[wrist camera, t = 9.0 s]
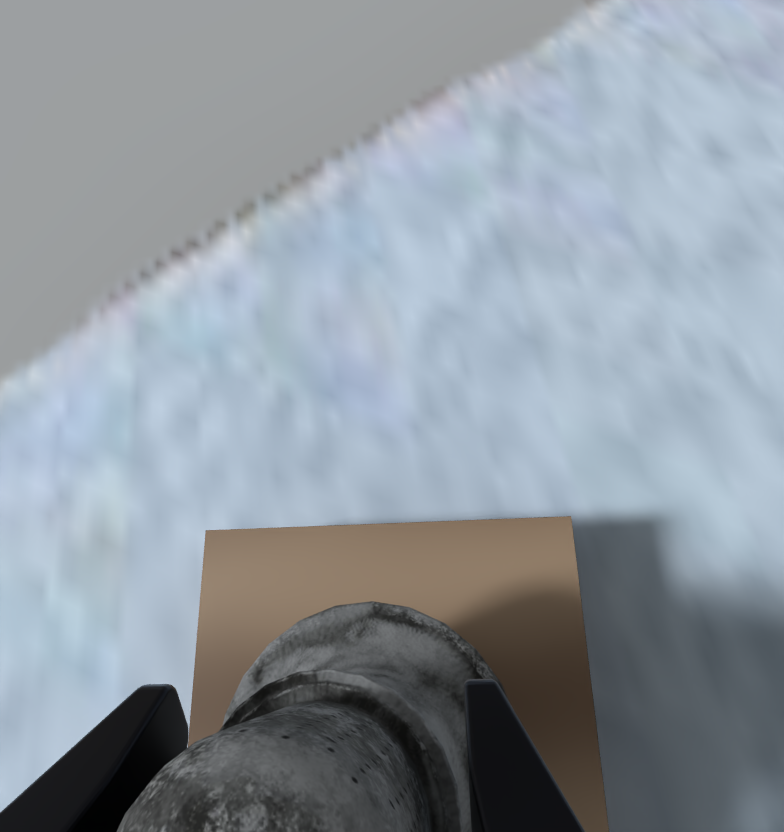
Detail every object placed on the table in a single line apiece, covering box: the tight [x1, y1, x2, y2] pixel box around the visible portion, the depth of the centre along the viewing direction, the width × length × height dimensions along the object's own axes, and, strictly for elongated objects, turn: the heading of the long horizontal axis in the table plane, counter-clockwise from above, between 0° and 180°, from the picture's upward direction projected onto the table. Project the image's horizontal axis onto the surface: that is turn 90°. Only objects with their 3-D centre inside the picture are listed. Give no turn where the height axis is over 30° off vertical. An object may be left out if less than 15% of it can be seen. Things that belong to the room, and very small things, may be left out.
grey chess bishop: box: [117, 601, 510, 832], centre depth 9 cm, size 6×6×12 cm
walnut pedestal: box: [188, 516, 609, 832], centre depth 16 cm, size 10×10×3 cm
